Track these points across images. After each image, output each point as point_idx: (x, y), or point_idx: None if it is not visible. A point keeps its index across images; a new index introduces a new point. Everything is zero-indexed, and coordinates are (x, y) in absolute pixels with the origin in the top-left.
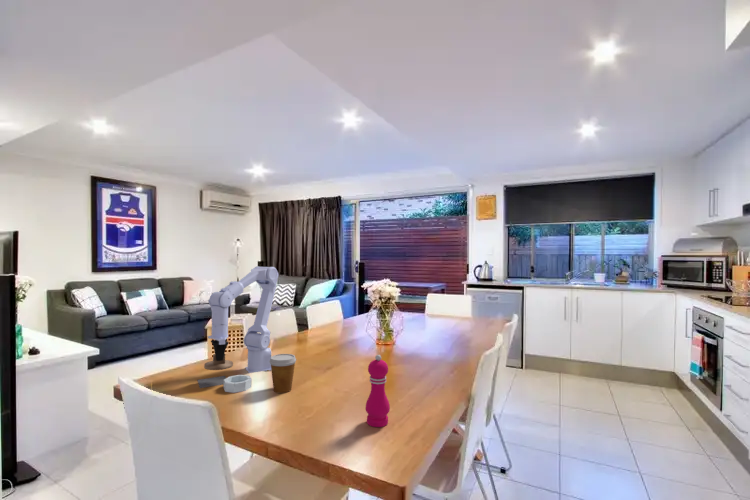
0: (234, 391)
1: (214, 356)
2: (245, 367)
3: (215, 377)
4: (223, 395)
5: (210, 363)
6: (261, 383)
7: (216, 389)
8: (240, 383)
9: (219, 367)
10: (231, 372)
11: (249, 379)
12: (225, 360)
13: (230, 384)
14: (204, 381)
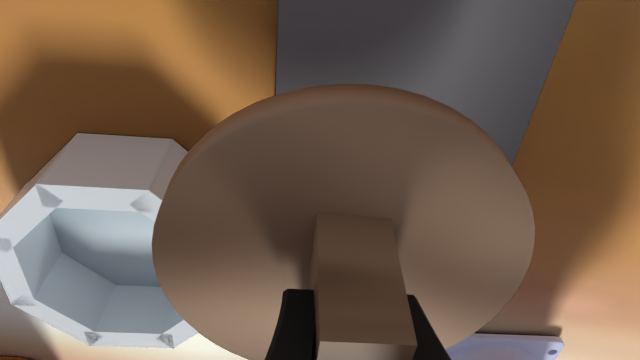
0: (18, 194)
1: (316, 327)
2: (558, 343)
3: (510, 142)
4: (9, 108)
5: (410, 193)
6: (188, 340)
7: (195, 88)
8: (3, 271)
9: (153, 249)
10: (558, 258)
11: (71, 333)
12: (439, 338)
13: (8, 208)
14: (470, 32)
